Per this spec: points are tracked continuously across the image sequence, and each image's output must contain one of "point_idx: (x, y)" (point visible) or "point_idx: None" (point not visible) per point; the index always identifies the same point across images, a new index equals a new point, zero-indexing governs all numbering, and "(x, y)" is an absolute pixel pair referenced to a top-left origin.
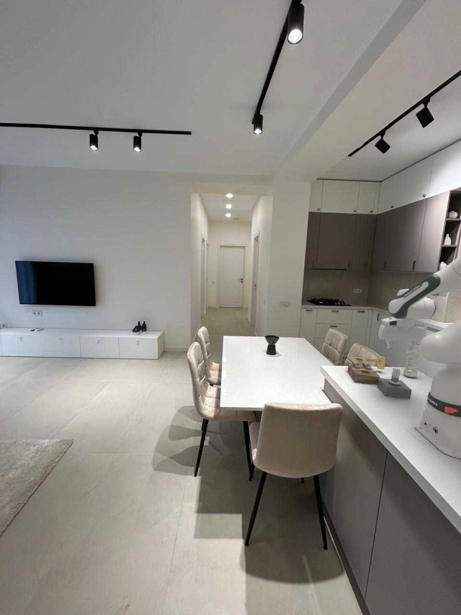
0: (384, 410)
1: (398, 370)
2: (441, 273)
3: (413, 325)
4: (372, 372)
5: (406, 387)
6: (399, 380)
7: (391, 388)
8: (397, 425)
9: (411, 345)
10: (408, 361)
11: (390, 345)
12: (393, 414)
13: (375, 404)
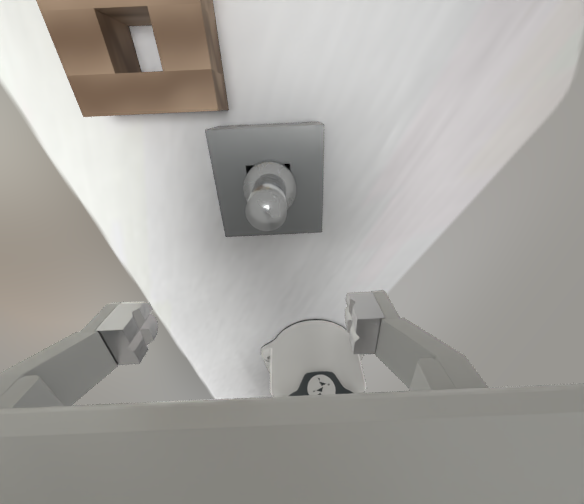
0: (212, 304)
1: (273, 223)
2: None
3: None
4: (178, 33)
5: (310, 213)
6: (313, 131)
7: (244, 234)
8: (228, 349)
9: (396, 340)
10: None
11: (119, 354)
12: (231, 314)
13: (191, 281)
